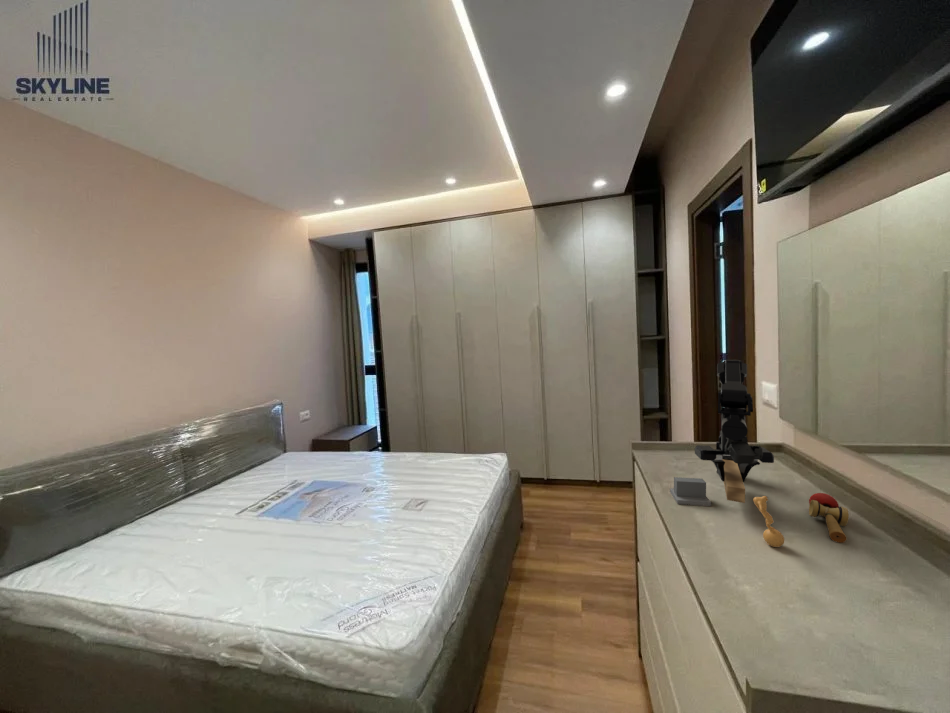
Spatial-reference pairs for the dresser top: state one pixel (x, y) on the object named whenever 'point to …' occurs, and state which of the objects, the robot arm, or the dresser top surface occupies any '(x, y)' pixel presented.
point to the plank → (733, 482)
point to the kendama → (829, 514)
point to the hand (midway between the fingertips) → (732, 481)
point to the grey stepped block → (690, 491)
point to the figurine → (770, 534)
